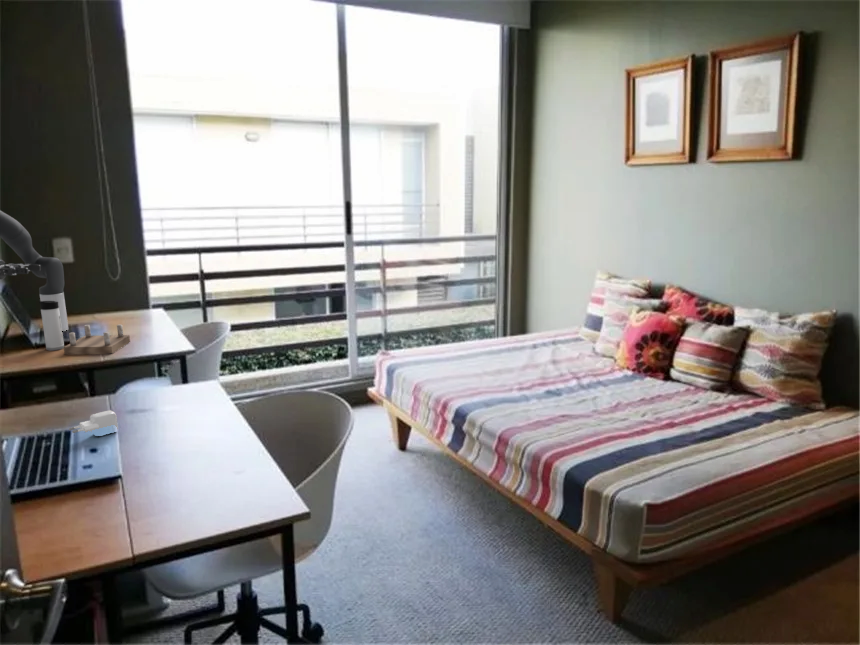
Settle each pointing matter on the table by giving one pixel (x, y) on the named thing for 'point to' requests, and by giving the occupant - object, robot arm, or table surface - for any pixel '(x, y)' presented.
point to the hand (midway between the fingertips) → (34, 269)
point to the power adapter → (97, 422)
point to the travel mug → (52, 325)
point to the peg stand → (96, 342)
